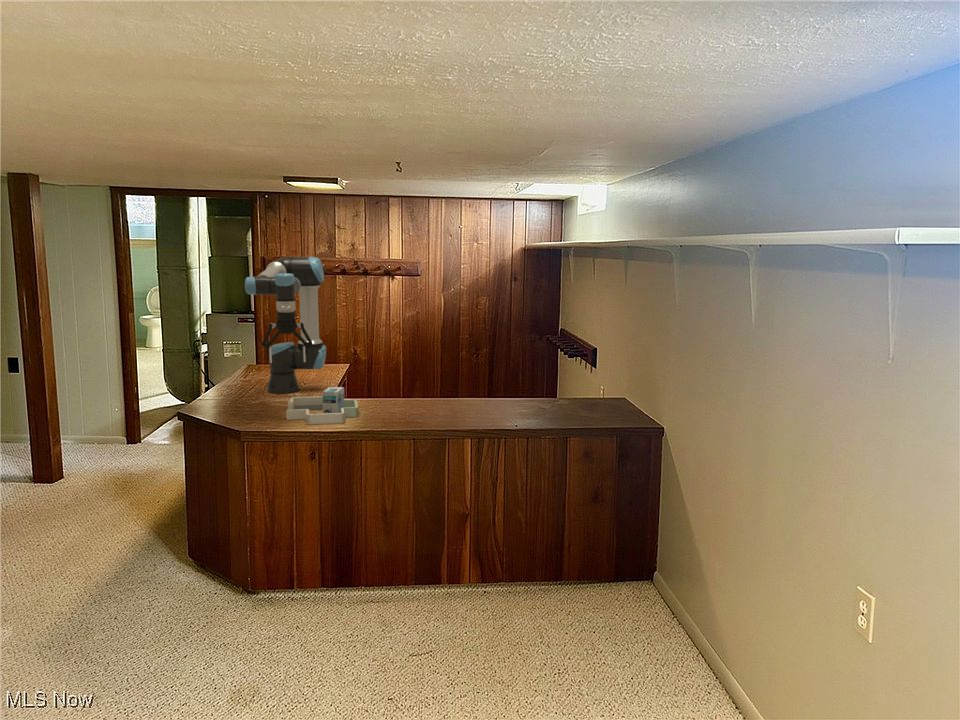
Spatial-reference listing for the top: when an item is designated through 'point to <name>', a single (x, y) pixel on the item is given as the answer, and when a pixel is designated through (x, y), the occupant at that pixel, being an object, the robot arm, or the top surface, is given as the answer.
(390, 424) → the top surface
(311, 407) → the mats
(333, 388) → the light bulb box
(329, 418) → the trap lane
